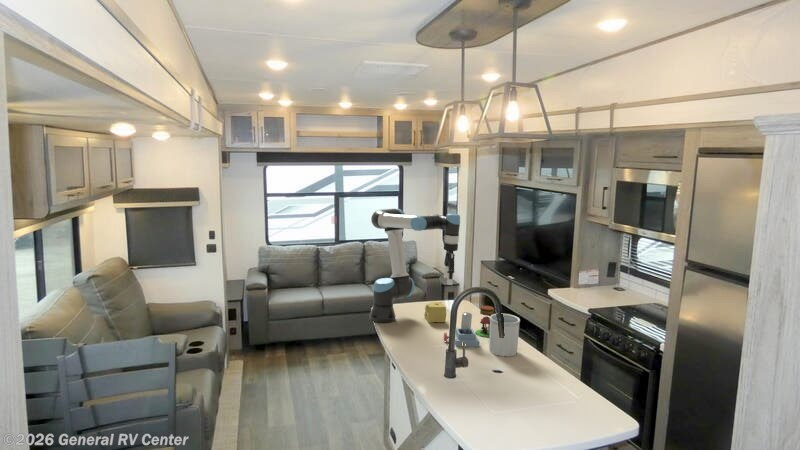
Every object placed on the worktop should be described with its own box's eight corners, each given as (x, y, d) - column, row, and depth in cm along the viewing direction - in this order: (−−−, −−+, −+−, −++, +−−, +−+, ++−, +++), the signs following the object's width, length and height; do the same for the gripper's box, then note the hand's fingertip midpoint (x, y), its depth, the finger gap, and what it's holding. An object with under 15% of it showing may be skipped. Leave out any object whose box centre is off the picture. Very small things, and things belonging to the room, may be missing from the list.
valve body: (442, 337, 265) (442, 326, 264) (473, 338, 265) (474, 327, 265) (445, 347, 251) (446, 335, 250) (478, 347, 252) (479, 336, 251)
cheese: (424, 317, 294) (424, 301, 293) (441, 317, 296) (442, 301, 295) (428, 323, 284) (429, 306, 283) (446, 323, 286) (447, 306, 285)
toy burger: (472, 336, 267) (474, 309, 265) (476, 329, 279) (478, 303, 277) (494, 339, 263) (496, 312, 261) (497, 332, 275) (499, 306, 273)
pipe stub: (459, 333, 260) (461, 312, 258) (469, 334, 260) (471, 312, 259) (461, 337, 255) (463, 315, 254) (470, 337, 255) (472, 315, 254)
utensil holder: (491, 357, 239) (493, 322, 237) (484, 345, 254) (487, 312, 252) (521, 357, 240) (523, 323, 238) (513, 346, 255) (515, 313, 252)
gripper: (441, 238, 275) (438, 274, 278) (447, 247, 250) (444, 287, 253) (454, 238, 275) (451, 275, 278) (461, 247, 250) (458, 288, 254)
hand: (447, 281), depth 266 cm, fingers open, 13 cm apart
